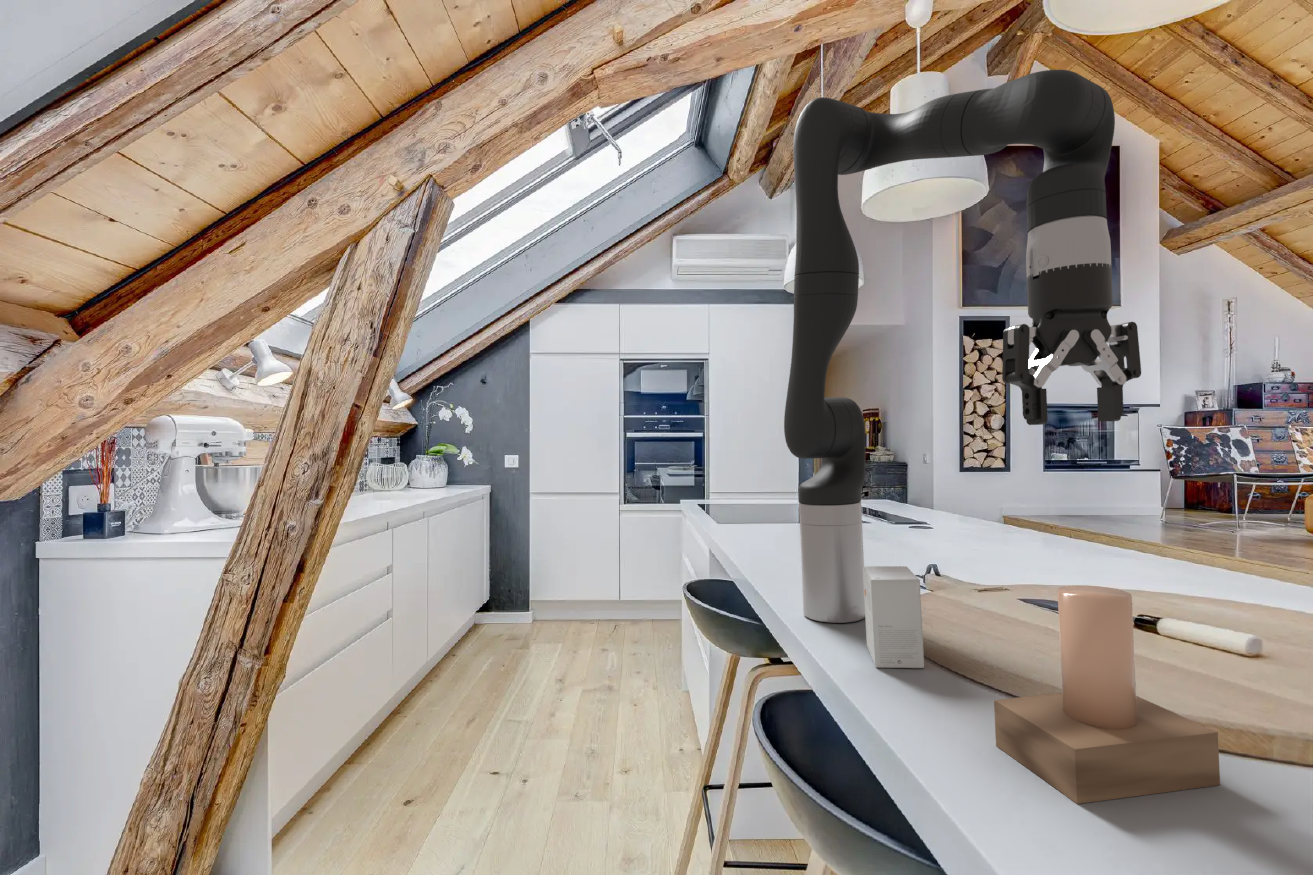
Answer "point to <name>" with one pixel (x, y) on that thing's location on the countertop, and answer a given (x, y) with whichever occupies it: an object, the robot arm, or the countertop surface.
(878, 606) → the small box
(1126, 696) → the terracotta canister
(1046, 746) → the walnut plinth
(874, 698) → the countertop surface
